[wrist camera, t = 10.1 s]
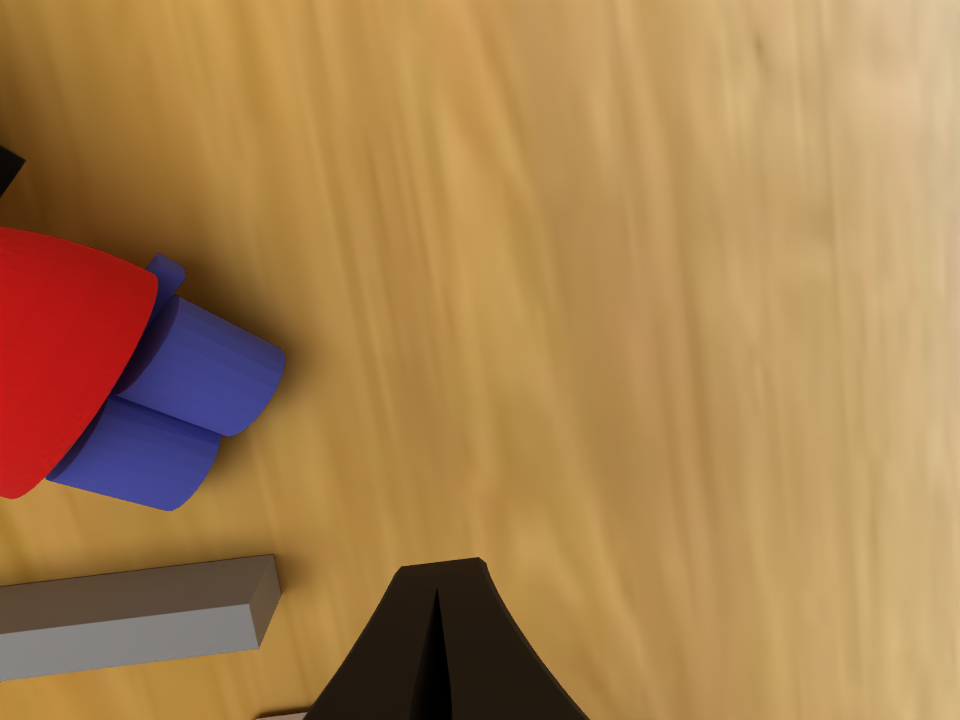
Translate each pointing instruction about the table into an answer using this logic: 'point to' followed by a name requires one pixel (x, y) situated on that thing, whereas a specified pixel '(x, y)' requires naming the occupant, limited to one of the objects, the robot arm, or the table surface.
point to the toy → (115, 372)
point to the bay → (136, 616)
